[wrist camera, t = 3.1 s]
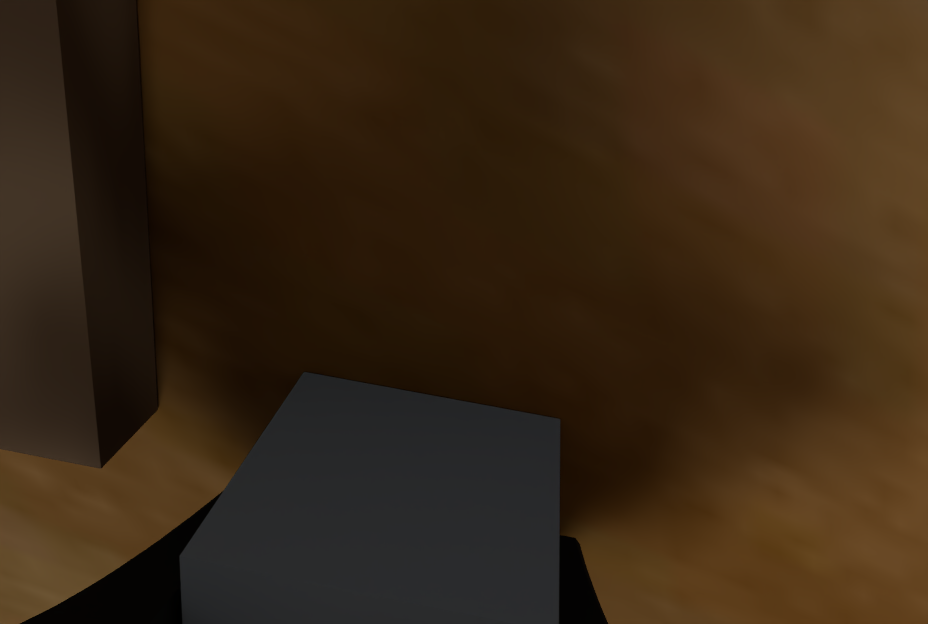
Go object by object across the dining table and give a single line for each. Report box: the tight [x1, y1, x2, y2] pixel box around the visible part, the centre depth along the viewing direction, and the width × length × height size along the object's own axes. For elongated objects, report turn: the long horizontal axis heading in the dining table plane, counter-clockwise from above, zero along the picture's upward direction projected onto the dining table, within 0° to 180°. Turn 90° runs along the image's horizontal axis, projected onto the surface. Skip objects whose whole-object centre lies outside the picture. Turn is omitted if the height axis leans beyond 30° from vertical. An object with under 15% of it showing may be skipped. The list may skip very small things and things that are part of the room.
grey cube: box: [180, 372, 560, 624], centre depth 13 cm, size 5×5×5 cm
